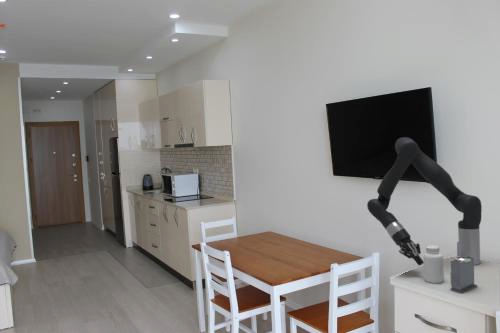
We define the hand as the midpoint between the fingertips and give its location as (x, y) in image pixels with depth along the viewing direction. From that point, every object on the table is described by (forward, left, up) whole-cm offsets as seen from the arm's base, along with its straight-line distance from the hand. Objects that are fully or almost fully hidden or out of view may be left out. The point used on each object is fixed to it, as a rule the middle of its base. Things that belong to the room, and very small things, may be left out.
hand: (421, 264), depth 193 cm
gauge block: (+18, +5, -6) cm, 20 cm away
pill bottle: (+6, +2, -6) cm, 9 cm away
